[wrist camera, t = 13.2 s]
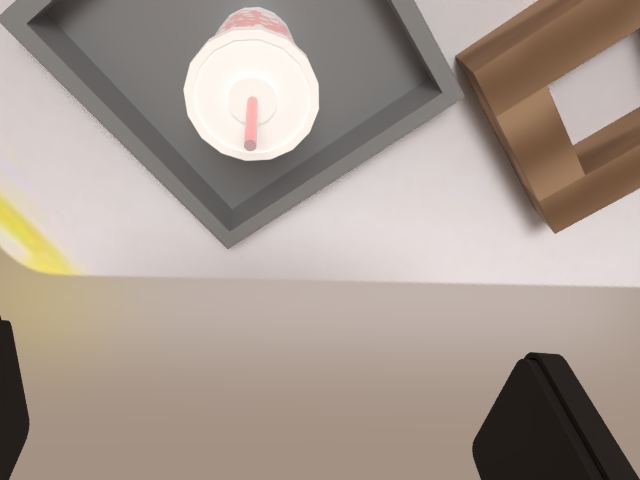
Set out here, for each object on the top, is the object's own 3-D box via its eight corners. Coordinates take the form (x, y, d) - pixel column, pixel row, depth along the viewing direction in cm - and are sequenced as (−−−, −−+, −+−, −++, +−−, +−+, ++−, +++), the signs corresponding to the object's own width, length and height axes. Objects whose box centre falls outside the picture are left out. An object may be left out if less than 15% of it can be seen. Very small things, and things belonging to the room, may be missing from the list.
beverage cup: (264, -33, 29) (264, 24, 17) (326, 59, 32) (361, 160, 20) (180, 36, 30) (129, 129, 19) (247, 117, 33) (239, 240, 22)
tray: (448, 78, 34) (465, 96, 31) (230, 221, 38) (227, 249, 36) (280, -233, 25) (282, -248, 22) (22, 5, 29) (-4, 19, 26)
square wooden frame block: (721, 103, 36) (760, 122, 34) (534, 208, 40) (555, 233, 37) (678, -93, 29) (723, -91, 26) (455, 56, 33) (473, 72, 30)
